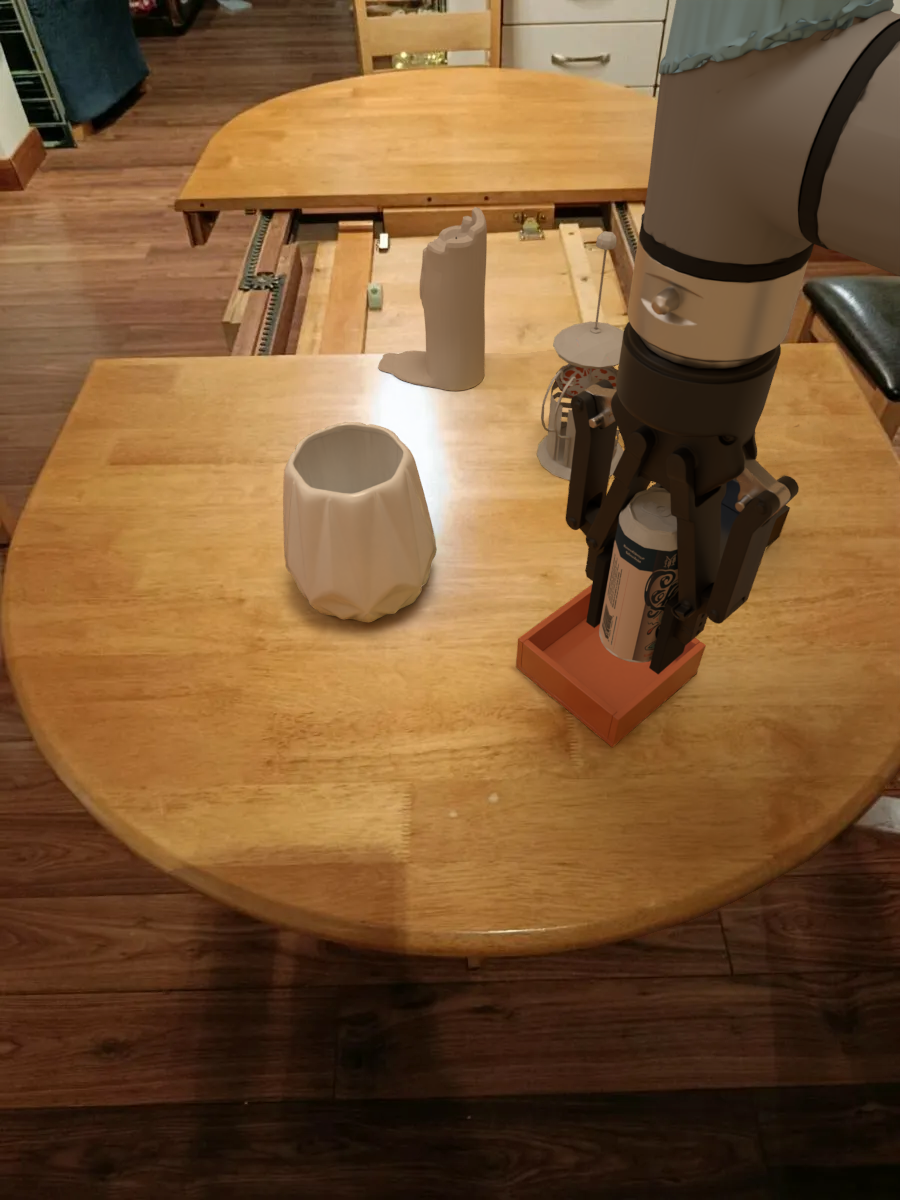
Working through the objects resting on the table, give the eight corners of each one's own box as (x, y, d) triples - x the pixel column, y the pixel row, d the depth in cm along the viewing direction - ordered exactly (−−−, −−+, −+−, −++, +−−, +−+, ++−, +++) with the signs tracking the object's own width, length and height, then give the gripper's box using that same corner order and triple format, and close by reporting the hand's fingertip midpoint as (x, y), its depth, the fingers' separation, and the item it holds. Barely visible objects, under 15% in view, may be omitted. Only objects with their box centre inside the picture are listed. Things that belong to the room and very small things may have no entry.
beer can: (652, 677, 56) (687, 548, 47) (586, 649, 58) (608, 519, 49) (678, 629, 59) (716, 498, 50) (615, 604, 61) (640, 473, 52)
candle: (389, 346, 110) (377, 188, 95) (491, 364, 107) (495, 203, 92) (368, 376, 106) (352, 215, 91) (474, 395, 103) (475, 232, 88)
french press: (642, 451, 95) (684, 230, 76) (578, 502, 89) (607, 277, 71) (572, 416, 100) (596, 199, 81) (508, 463, 94) (517, 241, 75)
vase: (330, 659, 76) (306, 536, 65) (269, 563, 84) (238, 439, 73) (464, 598, 81) (463, 474, 69) (394, 513, 89) (383, 389, 77)
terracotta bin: (696, 673, 74) (706, 645, 71) (612, 747, 69) (618, 720, 66) (600, 603, 80) (605, 574, 77) (515, 667, 75) (517, 638, 72)
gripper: (516, 290, 44) (503, 595, 61) (828, 446, 35) (709, 751, 52) (611, 243, 47) (573, 544, 64) (918, 374, 38) (777, 683, 55)
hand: (633, 636), depth 58 cm, fingers closed on beer can, 5 cm apart
